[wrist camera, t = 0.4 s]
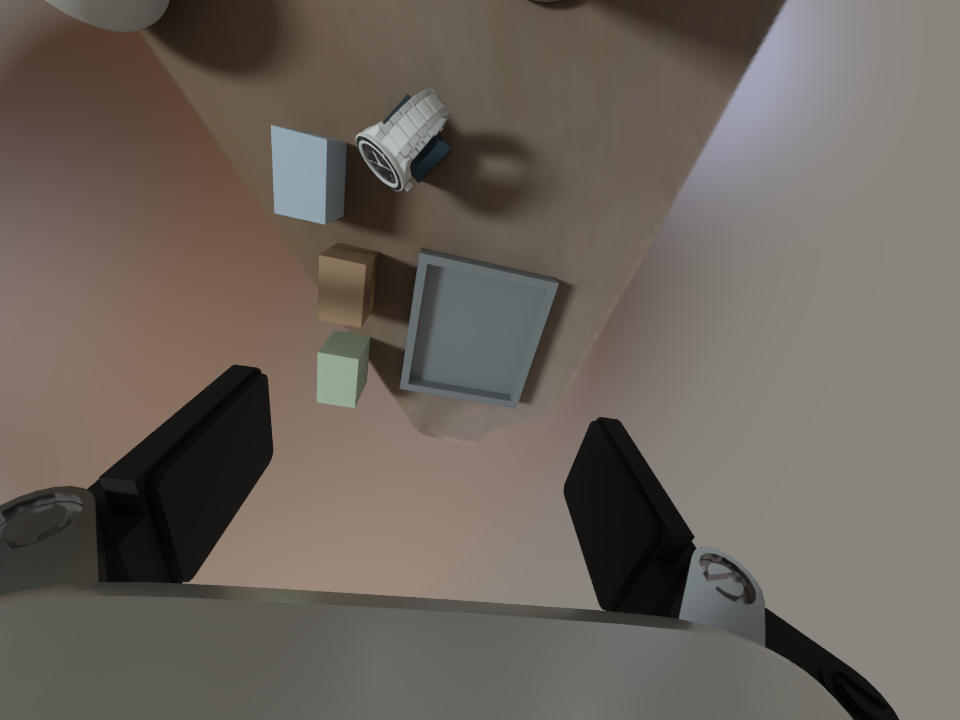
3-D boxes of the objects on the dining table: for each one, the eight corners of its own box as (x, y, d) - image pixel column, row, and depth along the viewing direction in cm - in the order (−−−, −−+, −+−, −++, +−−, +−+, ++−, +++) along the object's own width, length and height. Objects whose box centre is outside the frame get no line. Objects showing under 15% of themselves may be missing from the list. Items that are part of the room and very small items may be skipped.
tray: (421, 248, 41) (419, 252, 39) (554, 277, 43) (559, 283, 41) (402, 379, 49) (399, 388, 47) (514, 398, 51) (516, 408, 49)
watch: (368, 149, 36) (333, 144, 26) (425, 84, 33) (409, 53, 24) (409, 195, 38) (390, 207, 28) (465, 137, 36) (466, 128, 26)
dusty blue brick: (299, 130, 35) (270, 125, 30) (347, 142, 36) (326, 139, 30) (300, 206, 38) (274, 213, 33) (343, 216, 39) (325, 224, 34)
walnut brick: (338, 242, 40) (318, 255, 35) (378, 251, 41) (365, 264, 36) (335, 300, 43) (318, 319, 38) (373, 308, 44) (361, 328, 39)
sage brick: (334, 330, 45) (317, 352, 40) (370, 336, 46) (358, 359, 41) (332, 376, 49) (316, 402, 43) (366, 381, 49) (354, 408, 44)
